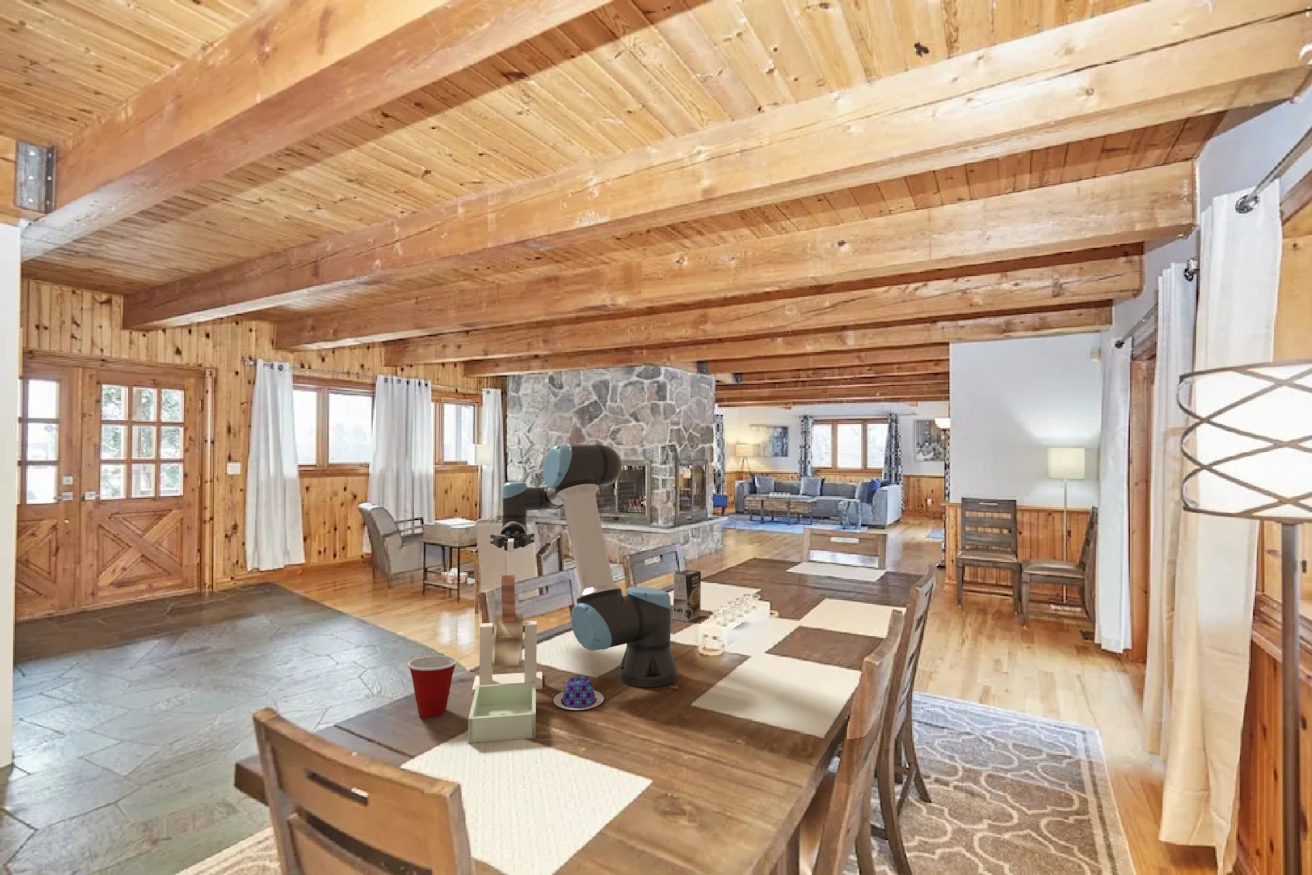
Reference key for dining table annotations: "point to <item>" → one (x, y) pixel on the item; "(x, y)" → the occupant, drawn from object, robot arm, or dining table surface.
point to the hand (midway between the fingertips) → (510, 546)
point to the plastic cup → (432, 683)
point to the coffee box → (687, 595)
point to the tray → (503, 712)
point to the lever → (507, 629)
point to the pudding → (578, 694)
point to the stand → (528, 675)
